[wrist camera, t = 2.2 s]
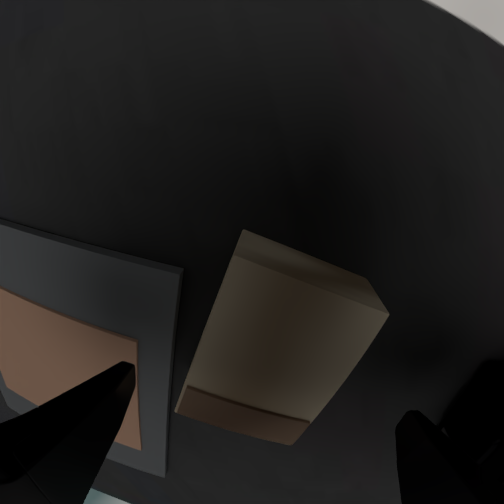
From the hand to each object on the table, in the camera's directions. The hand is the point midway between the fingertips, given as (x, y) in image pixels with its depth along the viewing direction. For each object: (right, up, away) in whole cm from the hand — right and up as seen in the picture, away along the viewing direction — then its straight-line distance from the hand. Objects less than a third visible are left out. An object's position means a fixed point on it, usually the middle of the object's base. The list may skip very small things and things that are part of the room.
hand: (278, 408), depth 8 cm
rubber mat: (-12, -2, +6) cm, 13 cm away
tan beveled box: (0, +2, +4) cm, 4 cm away
